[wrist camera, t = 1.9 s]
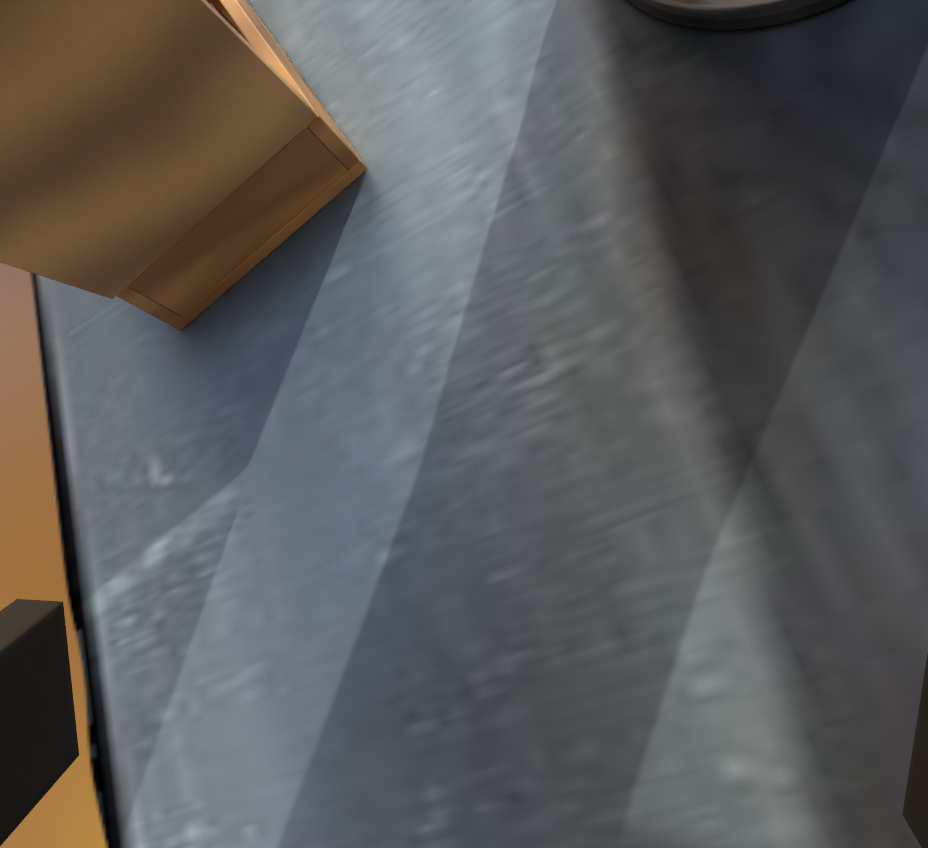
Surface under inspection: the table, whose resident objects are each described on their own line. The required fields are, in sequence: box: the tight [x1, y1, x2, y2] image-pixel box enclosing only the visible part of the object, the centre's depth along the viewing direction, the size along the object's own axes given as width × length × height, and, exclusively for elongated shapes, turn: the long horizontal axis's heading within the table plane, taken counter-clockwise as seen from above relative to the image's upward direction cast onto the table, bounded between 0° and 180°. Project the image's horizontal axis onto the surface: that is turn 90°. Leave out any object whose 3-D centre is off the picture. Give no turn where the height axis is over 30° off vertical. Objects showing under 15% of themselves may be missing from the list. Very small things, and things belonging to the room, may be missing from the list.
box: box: [117, 0, 367, 331], centre depth 42 cm, size 15×12×4 cm
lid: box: [0, 0, 317, 299], centre depth 29 cm, size 16×12×1 cm
